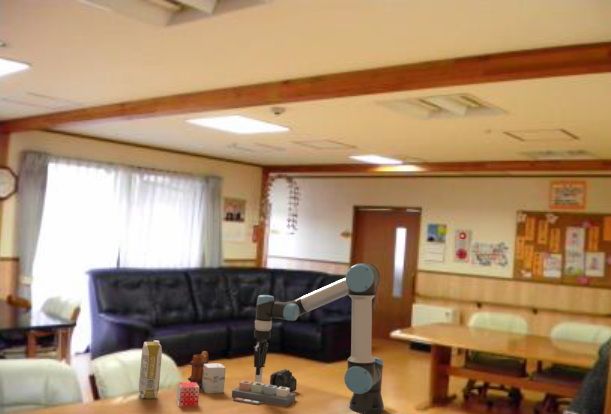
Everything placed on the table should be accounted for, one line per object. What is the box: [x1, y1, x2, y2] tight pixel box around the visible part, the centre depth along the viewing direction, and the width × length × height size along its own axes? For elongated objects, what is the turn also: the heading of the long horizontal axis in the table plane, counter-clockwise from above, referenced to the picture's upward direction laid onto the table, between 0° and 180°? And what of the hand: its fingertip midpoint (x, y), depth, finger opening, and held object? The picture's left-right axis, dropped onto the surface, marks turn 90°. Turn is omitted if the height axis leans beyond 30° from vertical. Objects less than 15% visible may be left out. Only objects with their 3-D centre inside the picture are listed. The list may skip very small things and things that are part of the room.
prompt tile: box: [233, 398, 262, 406], centre depth 265 cm, size 12×3×1 cm, turn 72°
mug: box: [187, 350, 209, 388], centre depth 288 cm, size 15×8×15 cm, turn 168°
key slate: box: [264, 383, 277, 395], centre depth 271 cm, size 5×5×4 cm
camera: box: [269, 368, 298, 393], centre depth 290 cm, size 13×10×10 cm
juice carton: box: [138, 340, 163, 399], centre depth 262 cm, size 9×8×24 cm
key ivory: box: [276, 386, 291, 397], centre depth 269 cm, size 5×5×4 cm
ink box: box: [201, 362, 226, 394], centre depth 279 cm, size 9×8×12 cm
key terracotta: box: [238, 380, 254, 391], centre depth 275 cm, size 5×5×4 cm
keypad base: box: [231, 386, 296, 408], centre depth 272 cm, size 26×12×3 cm, turn 72°
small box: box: [175, 381, 200, 407], centre depth 256 cm, size 8×8×8 cm
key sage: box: [251, 381, 266, 393], centre depth 273 cm, size 5×5×4 cm
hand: (258, 381), depth 273 cm, fingers closed
